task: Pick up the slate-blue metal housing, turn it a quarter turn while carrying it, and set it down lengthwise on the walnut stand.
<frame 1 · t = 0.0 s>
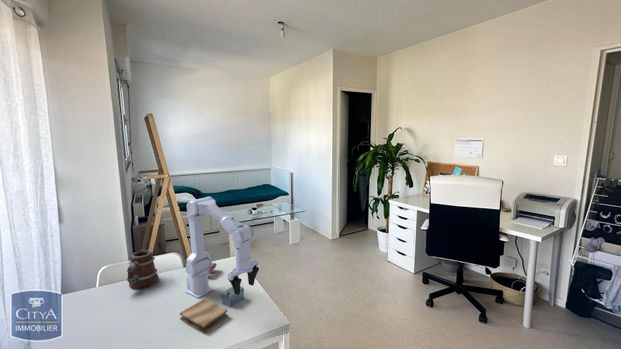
hand: (244, 289, 110), 10 cm above the table, tool pointing down, fingers open, 7 cm apart
metal housing: (233, 301, 120), on the table
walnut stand: (204, 318, 108), on the table
brown ringed piece: (141, 285, 132), on the table
video game controller: (208, 275, 142), on the table
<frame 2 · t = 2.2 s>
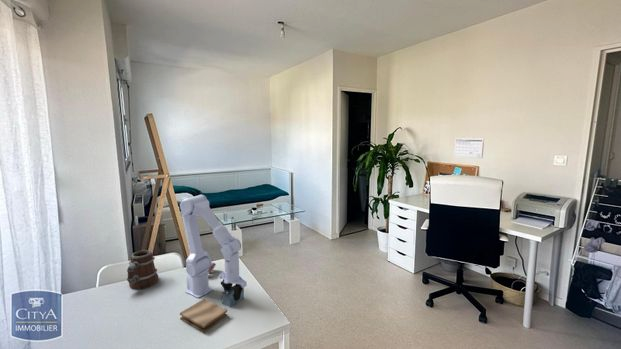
hand: (233, 297, 119), 1 cm above the table, tool pointing down, fingers closed on metal housing, 5 cm apart
metal housing: (233, 300, 120), on the table, touching gripper
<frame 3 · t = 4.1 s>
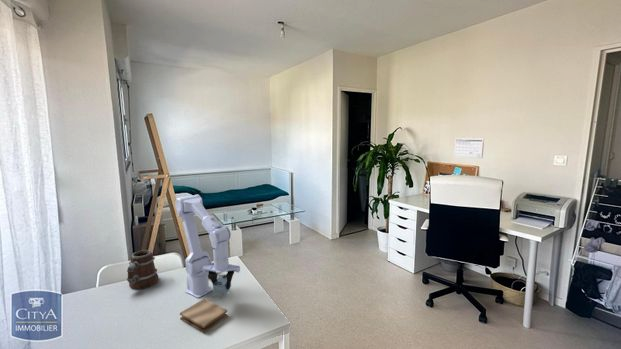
hand: (222, 288, 114), 8 cm above the table, tool pointing down, fingers closed on metal housing, 5 cm apart
metal housing: (222, 291, 115), point 7 cm above the table, touching gripper
when the fingers open (5 cm above the table, at t = 6.3 s): metal housing stays where it is, resting on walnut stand.
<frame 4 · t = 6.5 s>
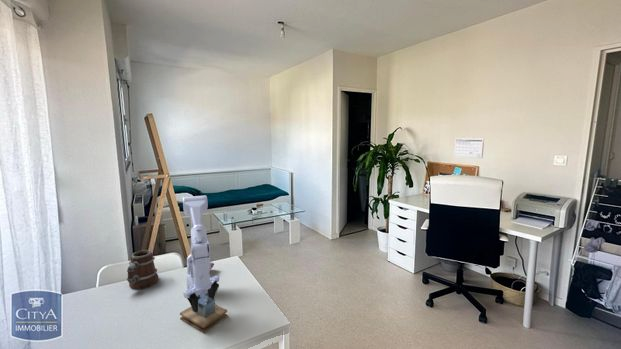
hand: (203, 306, 108), 5 cm above the table, tool pointing down, fingers open, 7 cm apart
metal housing: (203, 311, 108), point 3 cm above the table, touching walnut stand
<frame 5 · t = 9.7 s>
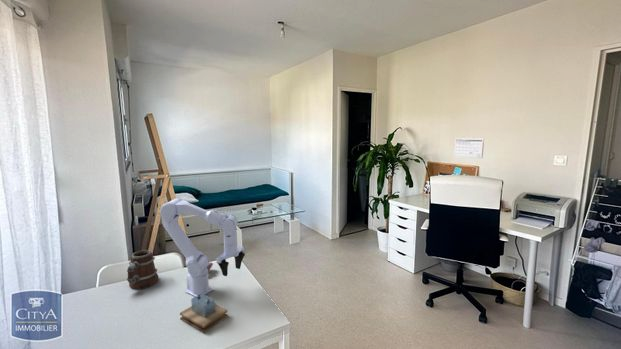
hand: (231, 271, 126), 9 cm above the table, tool pointing down, fingers open, 7 cm apart
at the end: metal housing inside the target area on the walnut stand (0.1 cm from its centre), point 2.8 cm above the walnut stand's base; metal housing tilted 0°; the gripper is holding nothing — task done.
